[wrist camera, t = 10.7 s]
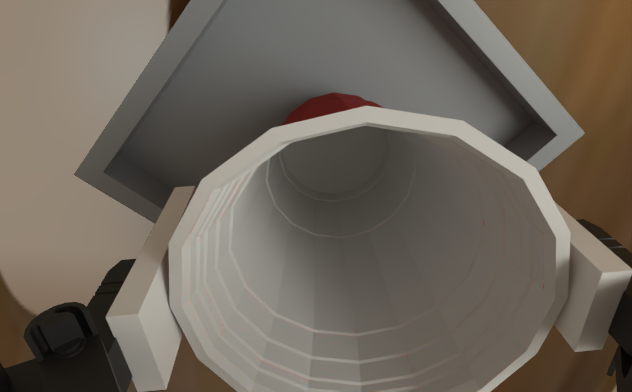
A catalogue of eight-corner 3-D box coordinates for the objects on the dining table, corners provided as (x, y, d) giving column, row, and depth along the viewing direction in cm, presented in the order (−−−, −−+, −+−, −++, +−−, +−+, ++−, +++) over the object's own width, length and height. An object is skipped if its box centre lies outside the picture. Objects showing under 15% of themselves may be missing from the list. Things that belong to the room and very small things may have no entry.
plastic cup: (258, -2, 18) (210, 33, 7) (471, 80, 20) (670, 198, 10) (204, 203, 23) (127, 404, 12) (381, 251, 25) (447, 456, 14)
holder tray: (336, 302, 29) (341, 335, 26) (99, 151, 23) (74, 175, 20) (551, 114, 23) (585, 133, 20) (311, -163, 17) (315, -188, 14)
